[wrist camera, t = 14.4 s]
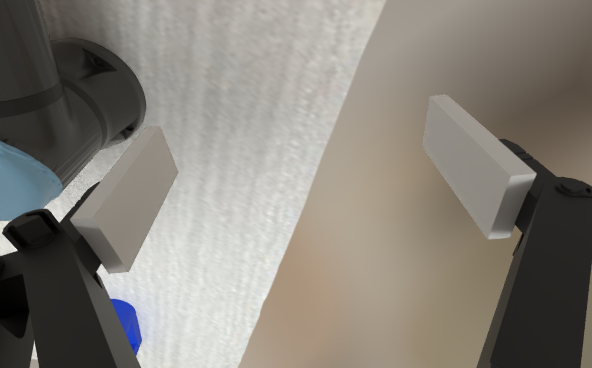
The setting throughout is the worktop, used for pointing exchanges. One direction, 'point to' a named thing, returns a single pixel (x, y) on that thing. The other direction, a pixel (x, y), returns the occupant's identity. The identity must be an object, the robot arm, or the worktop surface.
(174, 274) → the worktop surface
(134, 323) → the bracket
